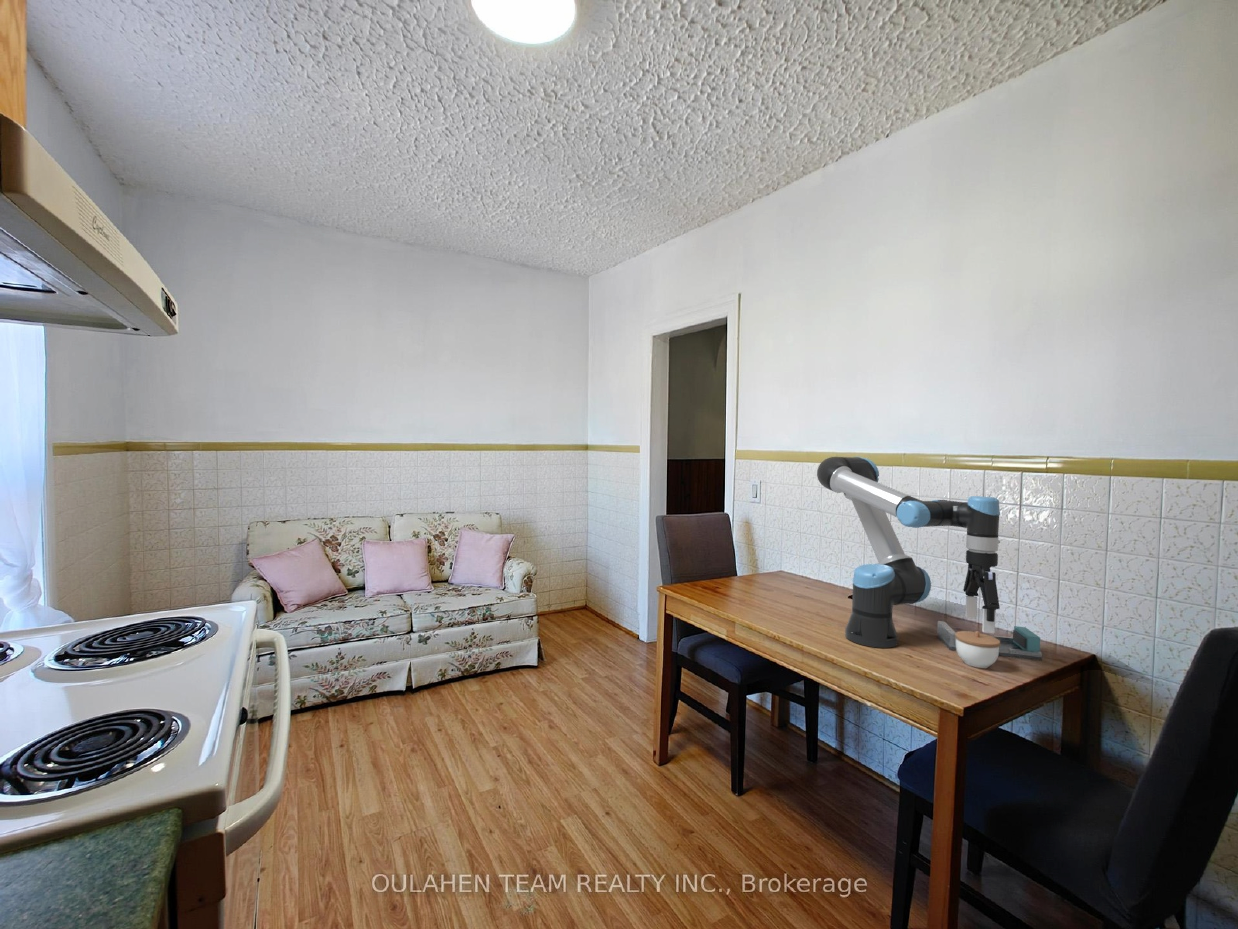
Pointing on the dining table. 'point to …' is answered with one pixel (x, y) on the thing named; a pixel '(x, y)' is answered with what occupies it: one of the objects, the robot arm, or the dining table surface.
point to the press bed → (1006, 643)
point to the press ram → (1026, 639)
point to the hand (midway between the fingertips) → (979, 625)
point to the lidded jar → (977, 648)
